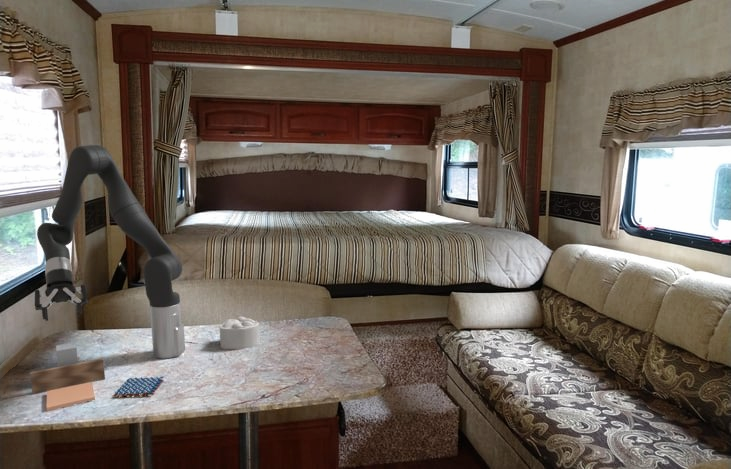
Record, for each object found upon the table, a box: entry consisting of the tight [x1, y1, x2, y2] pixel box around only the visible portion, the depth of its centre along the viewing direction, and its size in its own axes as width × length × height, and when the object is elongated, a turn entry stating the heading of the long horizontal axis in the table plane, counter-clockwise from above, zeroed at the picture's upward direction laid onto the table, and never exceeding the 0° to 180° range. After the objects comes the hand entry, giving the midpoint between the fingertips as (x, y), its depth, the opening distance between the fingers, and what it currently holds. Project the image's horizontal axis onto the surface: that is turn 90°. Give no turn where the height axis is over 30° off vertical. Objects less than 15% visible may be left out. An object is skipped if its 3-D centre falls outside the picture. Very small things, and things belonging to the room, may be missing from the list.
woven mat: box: [113, 376, 165, 399], centre depth 142 cm, size 10×11×2 cm
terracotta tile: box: [46, 382, 96, 412], centre depth 137 cm, size 11×11×1 cm
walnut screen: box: [29, 358, 106, 395], centre depth 144 cm, size 18×1×6 cm, turn 122°
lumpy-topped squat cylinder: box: [219, 316, 261, 350], centre depth 176 cm, size 10×13×9 cm
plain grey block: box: [55, 341, 79, 367], centre depth 148 cm, size 5×5×10 cm
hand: (63, 317), depth 157 cm, fingers open, 8 cm apart
